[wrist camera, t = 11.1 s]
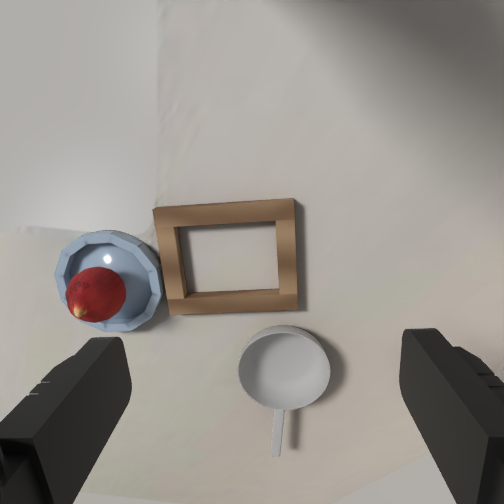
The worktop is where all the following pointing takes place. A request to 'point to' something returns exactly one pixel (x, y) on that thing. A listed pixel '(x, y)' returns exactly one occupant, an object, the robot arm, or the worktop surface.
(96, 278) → the onion
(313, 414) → the worktop surface
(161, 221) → the frame
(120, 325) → the dish
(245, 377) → the saucepan
